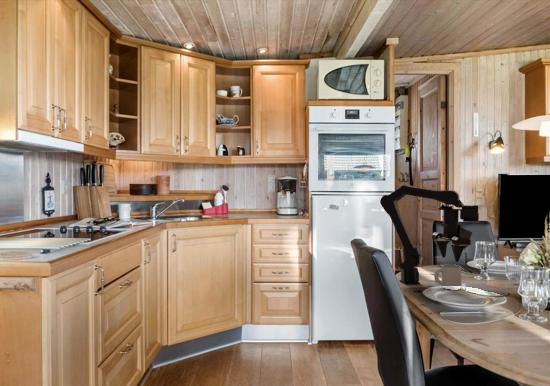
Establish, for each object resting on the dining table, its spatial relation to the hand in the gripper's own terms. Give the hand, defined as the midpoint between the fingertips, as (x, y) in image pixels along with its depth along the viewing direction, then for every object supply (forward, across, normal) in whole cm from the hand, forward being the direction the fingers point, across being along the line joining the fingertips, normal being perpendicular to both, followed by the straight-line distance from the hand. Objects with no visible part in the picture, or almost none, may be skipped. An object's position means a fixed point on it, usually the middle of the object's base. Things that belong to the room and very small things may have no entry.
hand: (450, 259), depth 167 cm
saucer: (+11, -9, -10) cm, 17 cm away
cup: (+11, -2, +2) cm, 12 cm away
